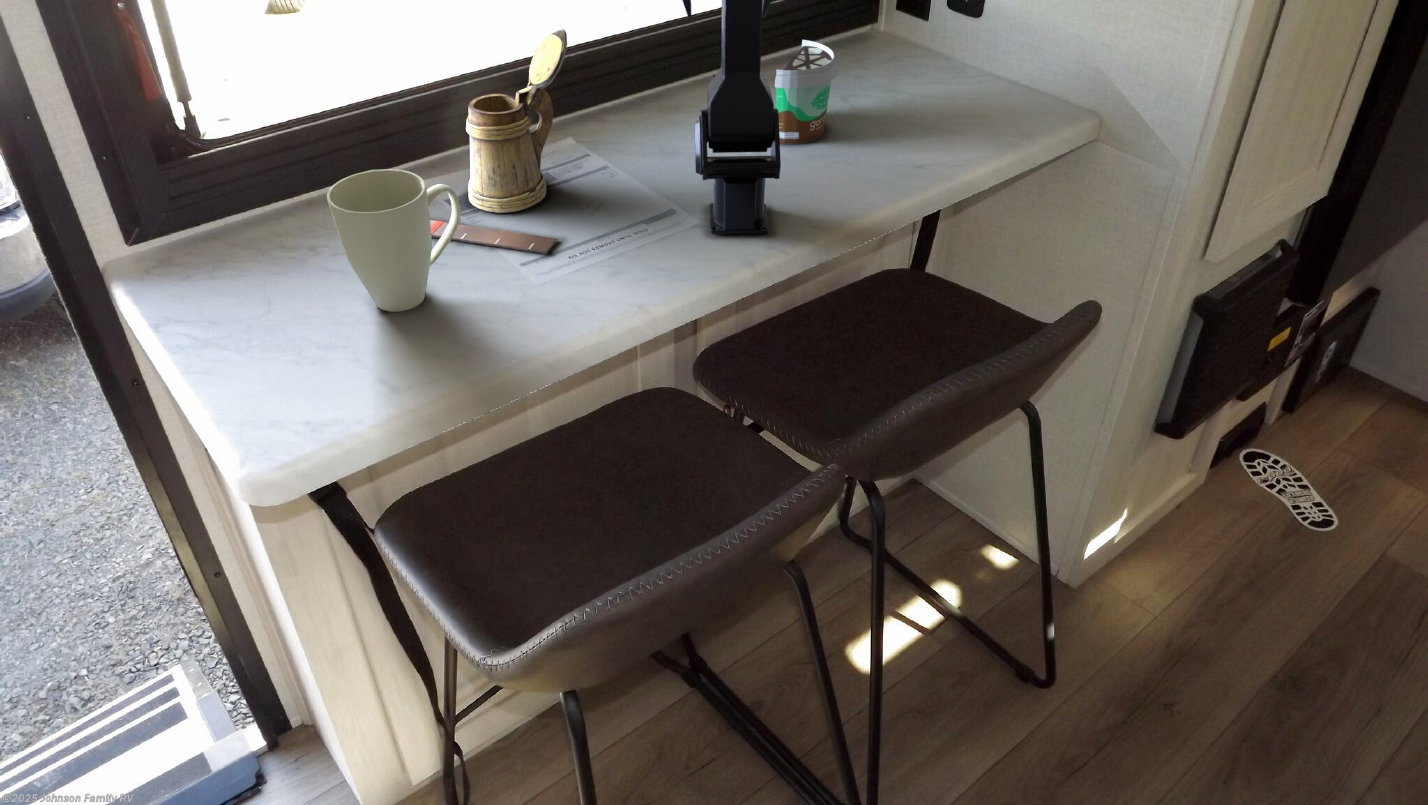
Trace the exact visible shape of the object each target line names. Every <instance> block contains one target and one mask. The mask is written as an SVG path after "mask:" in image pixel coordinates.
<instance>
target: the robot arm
mask: <svg viewBox="0 0 1428 805" xmlns="http://www.w3.org/2000/svg"><path fill="white" fill-rule="evenodd" d="M681 1H682V3H683V6H684V9H685V13H686V15H687V18H688V19H692V0H681ZM772 2H773V0H721V46H720V47H721V54H720V55H721V57H720V67H719V69H718V71H717V72H716V74H714V75H711V77H710V79H709V81H708V86H707V88H706V109H705V108H703V109H700V115H699V116H698V119H697V121H695V122H694V152H695V153H694V155H695V156H694V157H695V158H694V159H695V161H694V164H695V174H698V175H700V176H702V177H701V178H702V181H708V180H713V202H712V203H709V232H710V234H712V235H766V234H769V231H770V227H769V220H768V218H769V217H768V209H767V204H766V203H765V198H766V197H765V196H766V179H774V180H780V178H781V177H780V176H781V166H782V164H781V162H782V161H781V144H780V136H779V114H778V109H777V108H776V107H775V105H774V104H775V103H774V100H773V95H772V90H771V87H770V85H769V83H768V81H767V79H766V77H765V75H764V74H763V73H762V71H761V62H762V60H761V58H762V57H761V56H762V32H763V19H765V18H766V17H767V15H768V12H769V10H770V6H771V4H772ZM708 148H709V149H710V150H711V152H712V154H727V153H729V154H731V153H732V154H733V153H735V154H736V153H767V152H768V150H769V149H770V155H732V156H730V155H728V156H720V155H719V156H708Z"/></svg>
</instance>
